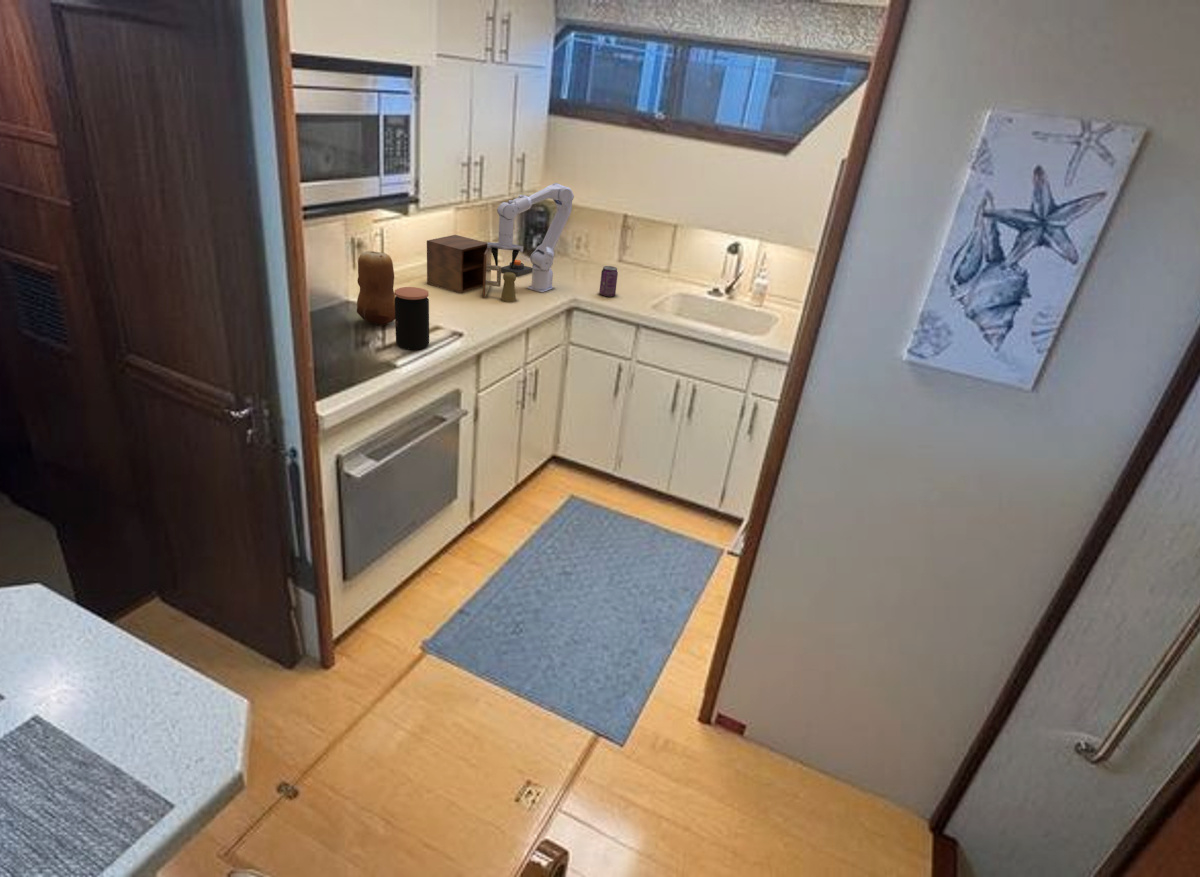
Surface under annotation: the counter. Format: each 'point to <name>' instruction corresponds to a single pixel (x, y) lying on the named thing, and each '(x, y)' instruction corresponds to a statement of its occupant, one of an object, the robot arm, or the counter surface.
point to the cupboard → (455, 263)
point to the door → (487, 273)
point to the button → (517, 262)
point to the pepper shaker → (509, 287)
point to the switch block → (517, 269)
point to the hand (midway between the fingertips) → (504, 267)
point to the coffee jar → (412, 318)
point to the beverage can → (608, 281)
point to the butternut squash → (376, 288)
